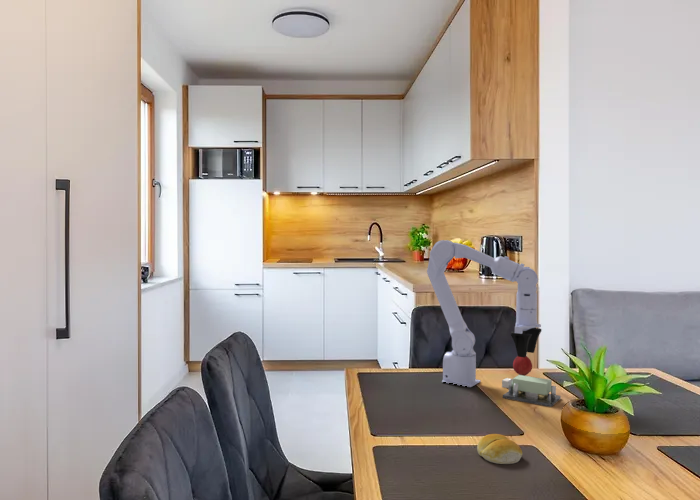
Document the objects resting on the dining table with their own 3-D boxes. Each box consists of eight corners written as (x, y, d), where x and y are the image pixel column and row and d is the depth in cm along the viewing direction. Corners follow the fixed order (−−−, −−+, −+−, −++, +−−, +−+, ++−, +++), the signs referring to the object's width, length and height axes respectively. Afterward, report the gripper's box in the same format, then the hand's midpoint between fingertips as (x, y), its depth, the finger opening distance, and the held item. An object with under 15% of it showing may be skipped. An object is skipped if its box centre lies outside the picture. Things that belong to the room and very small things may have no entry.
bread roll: (504, 445, 111) (505, 427, 111) (528, 463, 102) (528, 443, 102) (469, 449, 109) (469, 430, 109) (490, 467, 100) (490, 446, 100)
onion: (512, 378, 164) (513, 353, 164) (512, 373, 169) (512, 349, 169) (532, 379, 162) (532, 354, 162) (531, 375, 168) (531, 350, 167)
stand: (502, 387, 154) (502, 380, 154) (506, 384, 157) (506, 377, 157) (529, 391, 149) (529, 384, 149) (532, 389, 152) (532, 382, 152)
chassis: (502, 397, 144) (502, 382, 143) (513, 390, 151) (513, 375, 151) (551, 407, 136) (551, 390, 136) (560, 398, 143) (560, 383, 143)
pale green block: (512, 389, 144) (512, 378, 144) (518, 385, 148) (518, 374, 148) (546, 395, 138) (546, 383, 138) (551, 390, 142) (551, 379, 142)
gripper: (532, 312, 144) (532, 361, 145) (547, 307, 156) (547, 352, 156) (507, 310, 149) (507, 357, 149) (524, 305, 160) (523, 349, 161)
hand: (526, 354), depth 153 cm, fingers open, 7 cm apart
